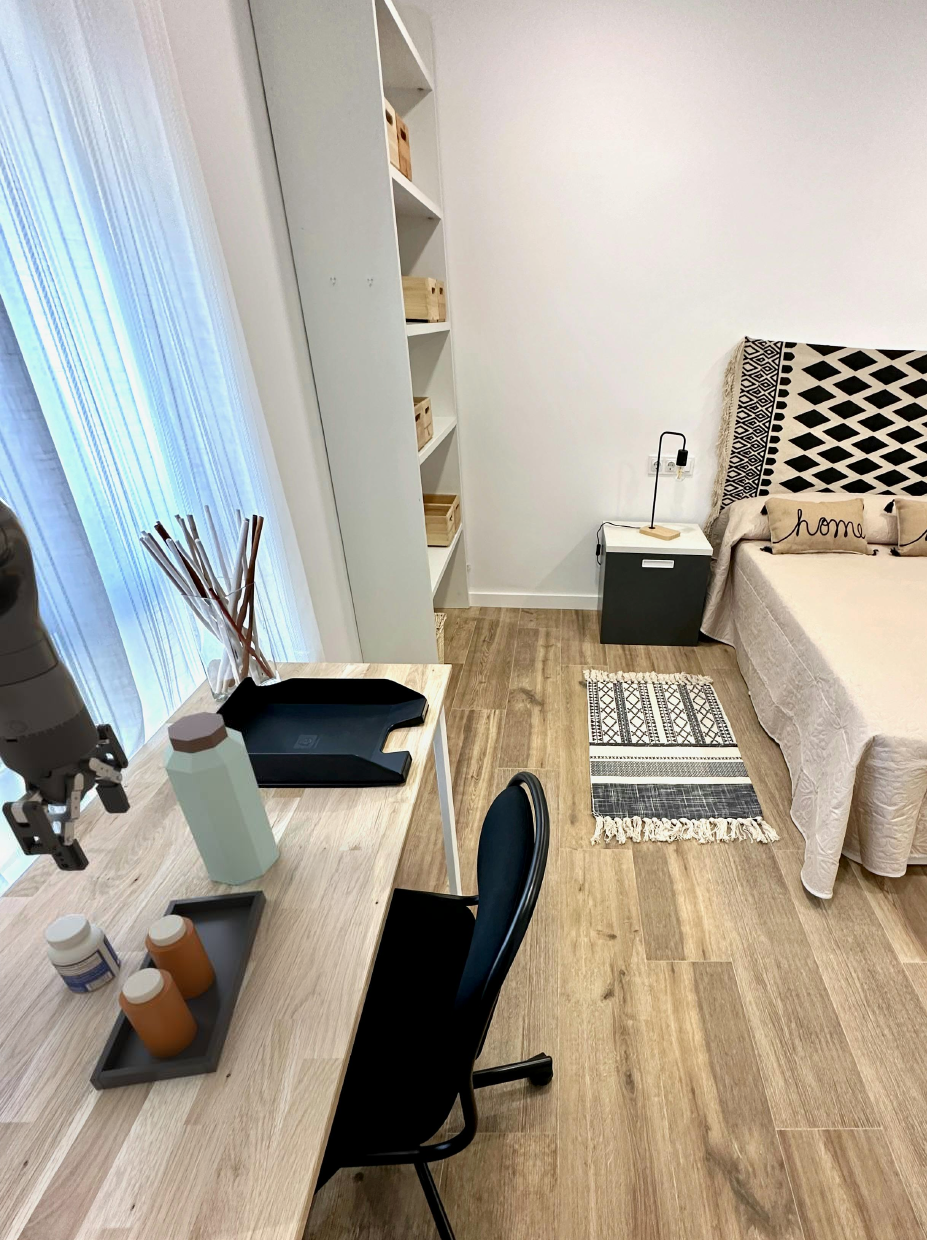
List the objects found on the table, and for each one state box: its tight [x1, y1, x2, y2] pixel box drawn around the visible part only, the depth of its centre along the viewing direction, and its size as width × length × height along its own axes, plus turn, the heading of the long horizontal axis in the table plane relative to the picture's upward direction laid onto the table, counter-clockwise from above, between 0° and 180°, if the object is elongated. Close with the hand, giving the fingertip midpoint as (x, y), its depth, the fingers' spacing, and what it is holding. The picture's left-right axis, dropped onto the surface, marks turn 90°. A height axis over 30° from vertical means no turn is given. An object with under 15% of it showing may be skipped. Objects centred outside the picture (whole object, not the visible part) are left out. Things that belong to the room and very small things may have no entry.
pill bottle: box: [44, 913, 122, 995], centre depth 75 cm, size 5×5×10 cm
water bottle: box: [162, 711, 281, 886], centre depth 87 cm, size 10×10×25 cm
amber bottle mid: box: [144, 915, 215, 1000], centre depth 74 cm, size 5×5×10 cm
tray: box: [89, 889, 267, 1091], centre depth 76 cm, size 12×24×3 cm, turn 10°
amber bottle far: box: [118, 968, 197, 1059], centre depth 68 cm, size 5×5×10 cm
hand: (99, 838), depth 67 cm, fingers open, 8 cm apart
